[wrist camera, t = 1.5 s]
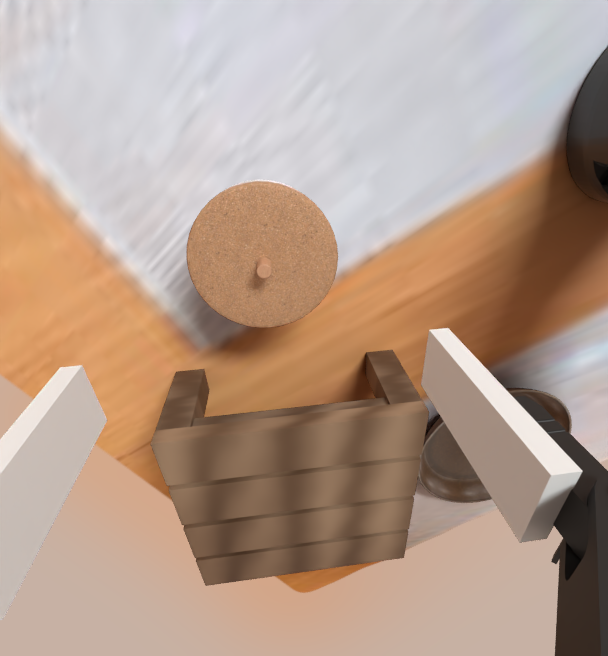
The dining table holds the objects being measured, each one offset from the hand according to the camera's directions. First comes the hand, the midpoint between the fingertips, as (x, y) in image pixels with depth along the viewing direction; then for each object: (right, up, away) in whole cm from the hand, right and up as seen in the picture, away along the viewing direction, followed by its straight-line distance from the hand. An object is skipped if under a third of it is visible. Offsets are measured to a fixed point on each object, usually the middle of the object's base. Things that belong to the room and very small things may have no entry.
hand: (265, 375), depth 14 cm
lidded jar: (-2, +10, +18) cm, 21 cm away
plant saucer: (+26, -13, +35) cm, 46 cm away
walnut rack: (0, -12, +31) cm, 33 cm away
